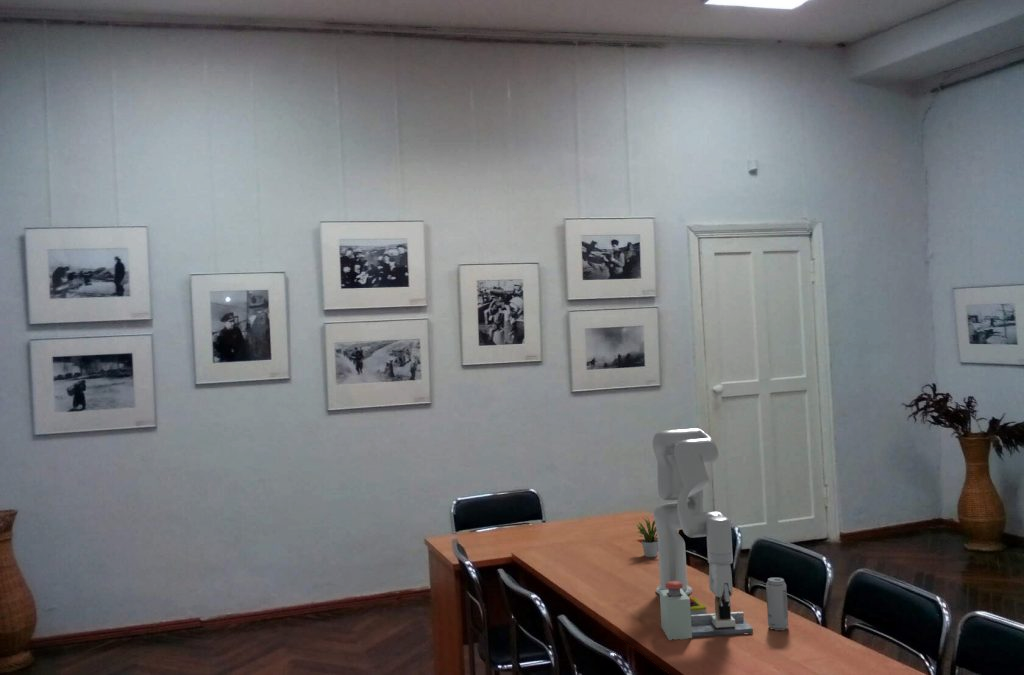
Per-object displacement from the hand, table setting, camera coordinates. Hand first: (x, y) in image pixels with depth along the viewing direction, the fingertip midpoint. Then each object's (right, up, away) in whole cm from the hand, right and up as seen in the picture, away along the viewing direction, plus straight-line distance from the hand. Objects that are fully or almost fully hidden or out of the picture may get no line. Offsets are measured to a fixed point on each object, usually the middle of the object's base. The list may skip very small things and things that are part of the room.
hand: (723, 616), depth 269 cm
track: (-2, -5, 0) cm, 5 cm away
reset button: (-15, +4, -1) cm, 16 cm away
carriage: (0, -3, 0) cm, 3 cm away
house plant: (-6, -5, +94) cm, 94 cm away
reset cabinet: (-15, -5, -1) cm, 15 cm away
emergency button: (-7, -6, +20) cm, 22 cm away
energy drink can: (+17, -4, -1) cm, 17 cm away
